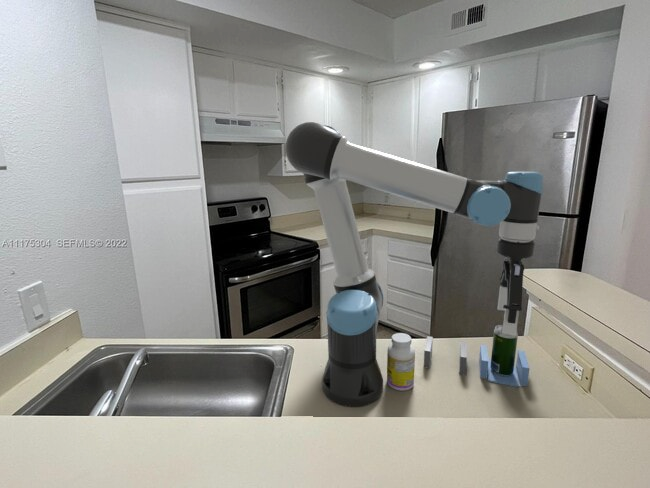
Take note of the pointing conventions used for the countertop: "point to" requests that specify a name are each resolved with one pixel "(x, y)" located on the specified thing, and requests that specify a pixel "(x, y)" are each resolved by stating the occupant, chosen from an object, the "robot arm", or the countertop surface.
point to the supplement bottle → (400, 362)
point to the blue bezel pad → (495, 378)
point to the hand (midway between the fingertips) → (505, 321)
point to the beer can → (503, 352)
